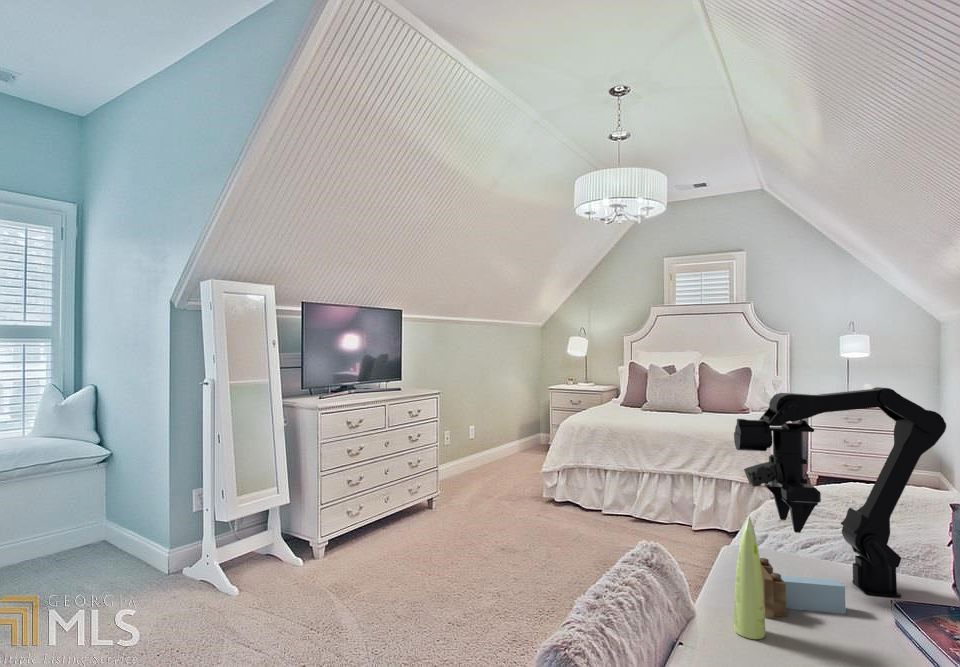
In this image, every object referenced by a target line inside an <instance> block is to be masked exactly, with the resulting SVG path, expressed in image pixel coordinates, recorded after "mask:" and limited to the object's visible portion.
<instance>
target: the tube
mask: <svg viewBox="0 0 960 667" xmlns="http://www.w3.org/2000/svg"><path fill="white" fill-rule="evenodd" d="M757 541H758V540H757V536H756V532H755V528H754V524H753V521H752V518H751V514H750V513H748V519H747V521H746V523H745V526H744V529H743V532H742V536H741V539H740V544H739V549H738V555H737V562H736V570H735V580H734V581H735V582H734V583H735V584H734V604H733V605H734V606H733V607H734V608H733V609H734V610H733V611H734V612H733V630H734V632H735V633H736V634H737V635H739V636H740V637H743V638H746V639H751V640H760V639H764V638H765V637H766V618H765V612H764V595H763V582H762V573H761V565H760V558H761V557H760V553H759V547H758V542H757Z"/></svg>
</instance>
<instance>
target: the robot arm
mask: <svg viewBox="0 0 960 667" xmlns="http://www.w3.org/2000/svg"><path fill="white" fill-rule="evenodd" d="M873 408H875V409H876V408H879V409H880V410H881V411H882V412H883V413H884V414H885V415H886V416H887V417H889V419H892V420H893V421H895V425H894V428H893V446H892V448H891V450H890V452H889V454H888V457H887V459H886V461H885V462H884V464H883V467H882V468H881V470H880V472H879V475H878V476H877V478H876V481H875V482H874V484H873V487H872V488H871V490H870V493H869V495H868V497H867V498H866V501H865V502H864V504H863V505H862V506H861V507H860V508H858V509H857V510H855V509H853V508H852V507H849V508H848V510H847V512H846V515H845V518H844V519H843V520H842V521H841V522H840V525H842V528H841V534H842V537H843V539H844V540H845V542H846V543H847V544H849V545H850V547H851V548H852V550H853V552H854V553H856V554H857V555H854V562H853V563H852V580H851V582H852V583H853V584H854V585H855V586H856V587H857V589H859V590H860V591H861V592H862V593H863V594H865V595H870V596H880V597H882V596H883V597H891V598H892V597H893V598H902V594H901V593H900V592H899V591H898V588H897V584H898V583H897V582H898V580H897V568H899V566H900V563H901V562H902V556H900V555H899V554H898V553H897V552H896V551H895V550H894V549H892V547H890V546H889V545H888V544H889V539H890V537H891V516H892V514H893V512H894V511H895V509H896V506H897V504H898V503H899V500H900V498H901V496H902V495H903V492H904V491H905V488H906V487H907V484H908V482H909V480H910V478H911V476H912V473H913V472H914V470H915V468H916V466H917V464H918V462H919V461H920V459H921V456H922V455H923V454H925V453H926V452H928V450H930V449H931V448H933V447H934V446H935V445H936V444H937V443H938V442H939V440H940V439H941V438H942V437H943V435H944V434H945V432H946V429H947V423H946V422H945V419H944V417H943V416H942V415H941V414H940V413H938V412H936V411H933V410H929V409H925V408H924V407H923V406H921V405H919V404H917V403H915V402H914V401H911V400H910V399H909V398H906V397H904V396H902V395H901V394H900V393H898V392H897V391H895V390H894V389H892V388H888V387H878V386H877V387H874V388H871V389H870V388H868V389H861V390H859V389H858V390H850V391H849V390H848V391H840V392H831V393H821V394H810V393H809V394H808V393H794V392H793V393H791V392H779V393H776V394H774V395H773V396H772V398H770V401H769V406H768V408H767V409H766V410H765V412H764V413H763V414H762V415H761V417H760V418H759V419H745V418H737V419H736V425H735V428H734V432H733V440H734V446H735V449H736V450H737V451H748V452H751V451H752V452H767V450H768V449H769V448H771V447H772V454H770V455H769V456H768V458H769V459H768V461H767V462H763V463H758V464H755V465H752V466H748V467H745V468H744V469H743V471H744V473H745V476H746V478H747V480H748V483H749V484H750V485H751V486H752V487H755V488H756V487H759V486H762V485H763V486H764V487H765V488H766V489H767V490H768V491H769V492H770V493H771V494H772V496H773V499H774V503H775V506H776V509H777V512H778V516H779V519H780V520H781V521H786V520H787V518H788V515H789V513H790V518H791V524H792V528H793V532H794V533H798V534H799V533H801V532H802V530H803V529H804V527H805V525H806V522H807V521H808V519H809V517H810V515H811V514H812V512H813V511H814V509H815V508H816V506H818V505H819V503H821V501H822V499H821V498H822V497H821V494H822V493H821V491H820V490H818V489H817V488H816V487H815V486H813V485H812V484H810V483H808V478H806V477H805V465H808V459H807V458H805V457H804V456H805V455H804V433H813V432H815V428H813V427H812V426H811V425H809V424H808V422H807V421H806V420H805V419H809V418H812V417H815V416H817V415H821V414H823V413H834V412H844V411H852V410H864V409H873Z"/></svg>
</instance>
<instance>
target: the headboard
mask: <svg viewBox="0 0 960 667" xmlns="http://www.w3.org/2000/svg"><path fill="white" fill-rule="evenodd" d="M759 558H760V565H761V573H762V582H763V595H764V612H765V619H769V620H770V619H771V620H772V619H773V620H774V619H775V617H783V618H786V617H787V608H786V584H785V582H784V581H783V580H782V578H781V573H778V572H774V567H773V566H772V564H771V563H770V562H769V561H770V560H769V559H768V558H766V557H759ZM768 573H770V574H771V576H770V575H769V574H768Z"/></svg>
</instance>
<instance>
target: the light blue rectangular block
mask: <svg viewBox="0 0 960 667" xmlns="http://www.w3.org/2000/svg"><path fill="white" fill-rule="evenodd" d="M768 574H769V575H770V576H771V574H770V573H768ZM780 575H781V574H780ZM781 578H782V580H783V581H784V582H785V584H786V609H791V610H799V611H800V610H803V611H811V612H823V613H831V614H832V613H833V614H844V615H845V614H846V613H847V612H846V611H847V610H846V586H845V585H844V584H843V583H842V582H841V581H839V579H831V578H818V577H806V576H793V575H781Z"/></svg>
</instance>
